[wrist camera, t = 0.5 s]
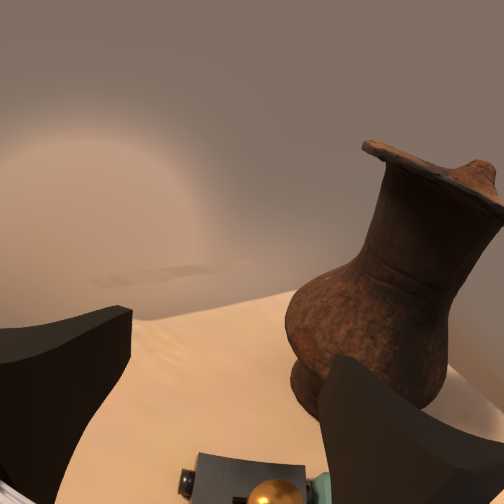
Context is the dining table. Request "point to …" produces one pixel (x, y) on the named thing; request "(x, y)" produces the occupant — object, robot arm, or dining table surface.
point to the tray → (322, 489)
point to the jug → (397, 280)
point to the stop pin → (275, 493)
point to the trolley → (236, 479)
